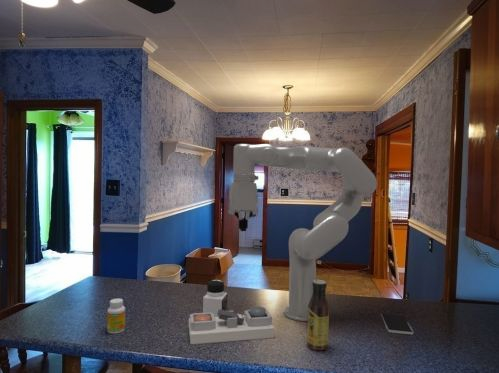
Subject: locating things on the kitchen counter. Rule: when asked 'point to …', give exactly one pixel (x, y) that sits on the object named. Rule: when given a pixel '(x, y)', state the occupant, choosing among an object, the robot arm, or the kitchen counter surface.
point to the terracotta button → (202, 317)
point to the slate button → (257, 312)
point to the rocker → (230, 316)
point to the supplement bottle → (116, 316)
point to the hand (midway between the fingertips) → (243, 230)
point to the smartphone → (396, 323)
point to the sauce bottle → (318, 317)
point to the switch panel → (230, 328)
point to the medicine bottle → (215, 298)
